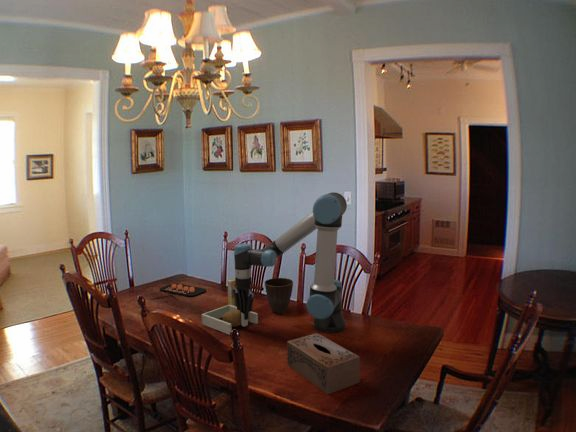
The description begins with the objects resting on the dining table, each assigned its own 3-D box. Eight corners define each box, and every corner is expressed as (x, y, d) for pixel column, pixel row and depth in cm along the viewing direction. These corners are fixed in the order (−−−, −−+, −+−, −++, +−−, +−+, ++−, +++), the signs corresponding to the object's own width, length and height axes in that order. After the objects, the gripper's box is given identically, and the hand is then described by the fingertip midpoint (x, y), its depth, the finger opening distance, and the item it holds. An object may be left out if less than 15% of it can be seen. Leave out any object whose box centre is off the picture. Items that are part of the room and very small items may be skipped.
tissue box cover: (359, 383, 159) (359, 356, 157) (327, 395, 151) (327, 367, 150) (317, 356, 180) (317, 332, 179) (287, 365, 172) (287, 341, 171)
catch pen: (257, 323, 216) (257, 313, 215) (230, 335, 202) (229, 324, 202) (229, 313, 229) (229, 304, 229) (201, 324, 216) (201, 314, 215)
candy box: (241, 303, 244) (240, 277, 242) (246, 305, 241) (245, 278, 239) (228, 307, 239) (227, 280, 237) (232, 309, 236) (231, 281, 234)
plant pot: (299, 311, 231) (299, 282, 228) (277, 318, 221) (276, 288, 219) (281, 304, 242) (281, 276, 240) (259, 311, 233) (258, 281, 231)
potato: (253, 323, 216) (252, 307, 215) (232, 332, 205) (232, 316, 204) (239, 319, 222) (238, 303, 221) (218, 327, 211) (217, 311, 210)
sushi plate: (209, 292, 268) (208, 286, 268) (171, 307, 243) (171, 300, 242) (175, 285, 283) (174, 279, 283) (136, 298, 258) (136, 292, 258)
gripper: (227, 276, 207) (229, 324, 210) (246, 281, 198) (248, 331, 201) (239, 273, 212) (241, 319, 216) (258, 277, 204) (260, 326, 207)
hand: (244, 325), depth 209 cm, fingers closed
